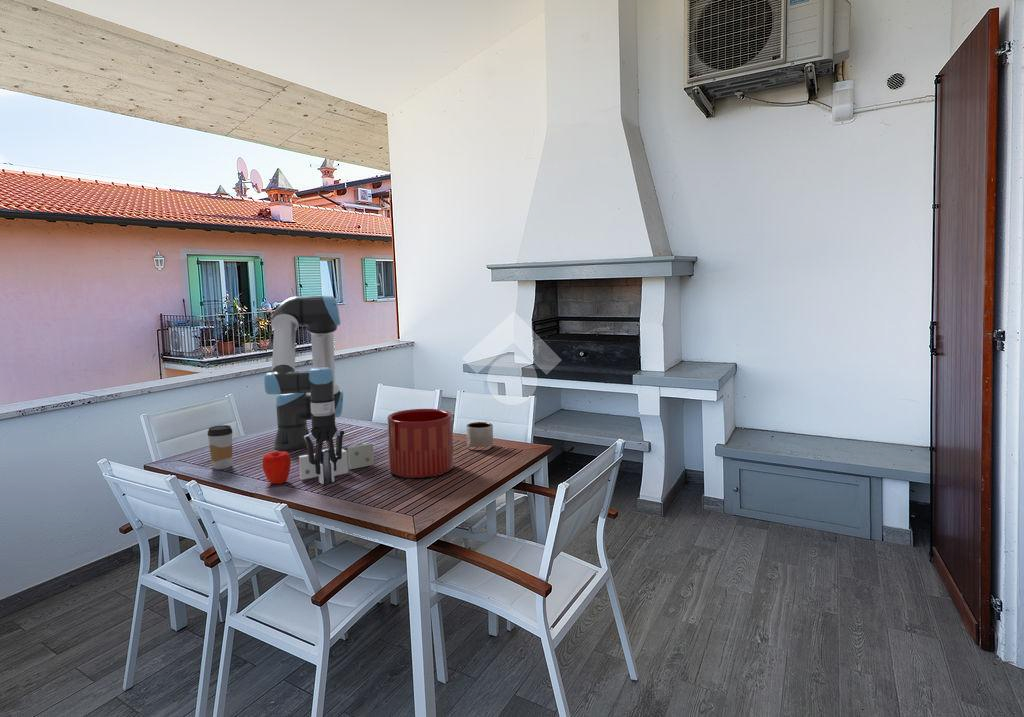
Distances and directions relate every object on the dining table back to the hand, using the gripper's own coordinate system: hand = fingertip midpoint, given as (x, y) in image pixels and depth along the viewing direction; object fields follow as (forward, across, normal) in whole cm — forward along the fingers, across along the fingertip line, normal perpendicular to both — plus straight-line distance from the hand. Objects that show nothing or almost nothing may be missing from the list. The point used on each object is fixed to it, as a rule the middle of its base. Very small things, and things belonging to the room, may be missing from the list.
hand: (326, 481), depth 195 cm
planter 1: (+1, +32, -8) cm, 33 cm away
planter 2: (+1, +65, +3) cm, 65 cm away
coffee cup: (0, -24, +42) cm, 49 cm away
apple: (0, -13, +10) cm, 17 cm away
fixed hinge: (0, +2, +9) cm, 9 cm away
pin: (0, 0, 0) cm, 0 cm away
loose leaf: (0, +16, +9) cm, 18 cm away
